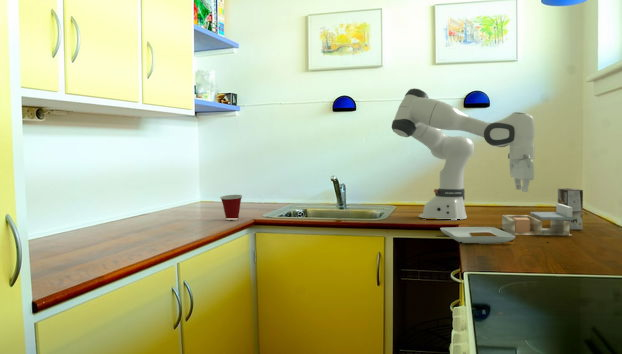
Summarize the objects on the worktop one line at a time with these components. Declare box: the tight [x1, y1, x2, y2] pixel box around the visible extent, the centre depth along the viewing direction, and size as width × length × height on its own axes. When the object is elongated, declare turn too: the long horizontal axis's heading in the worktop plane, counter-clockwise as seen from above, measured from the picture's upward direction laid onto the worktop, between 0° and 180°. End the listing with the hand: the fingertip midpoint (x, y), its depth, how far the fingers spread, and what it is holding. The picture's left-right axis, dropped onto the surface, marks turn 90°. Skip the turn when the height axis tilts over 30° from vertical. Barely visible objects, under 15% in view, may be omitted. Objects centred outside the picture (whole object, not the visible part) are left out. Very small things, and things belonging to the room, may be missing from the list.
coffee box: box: [557, 188, 584, 230], centre depth 199 cm, size 9×6×16 cm
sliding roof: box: [529, 203, 573, 221], centre depth 185 cm, size 11×14×4 cm
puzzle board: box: [501, 214, 572, 236], centre depth 186 cm, size 22×14×6 cm
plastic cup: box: [219, 194, 243, 219], centre depth 237 cm, size 11×11×12 cm
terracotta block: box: [513, 218, 530, 233], centre depth 187 cm, size 5×5×5 cm
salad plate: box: [439, 226, 516, 244], centre depth 178 cm, size 21×21×3 cm
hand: (521, 190), depth 186 cm, fingers open, 8 cm apart
